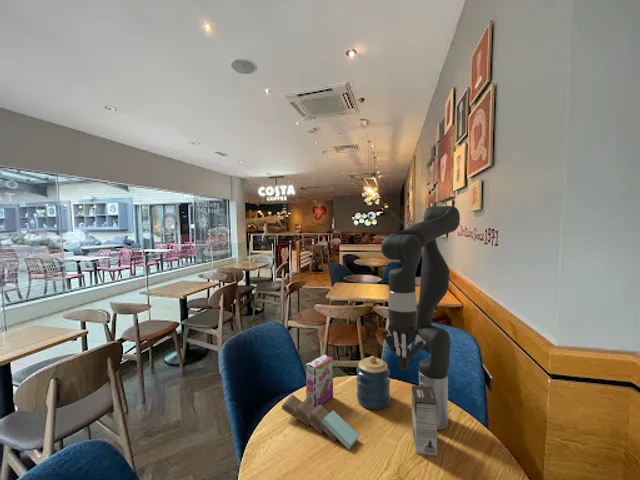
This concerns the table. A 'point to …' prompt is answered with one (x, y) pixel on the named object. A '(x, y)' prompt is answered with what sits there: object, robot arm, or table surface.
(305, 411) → the domino
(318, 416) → the domino
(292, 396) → the domino
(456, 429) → the table surface
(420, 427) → the coffee box
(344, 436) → the domino
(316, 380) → the candy bar box
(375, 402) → the canister
